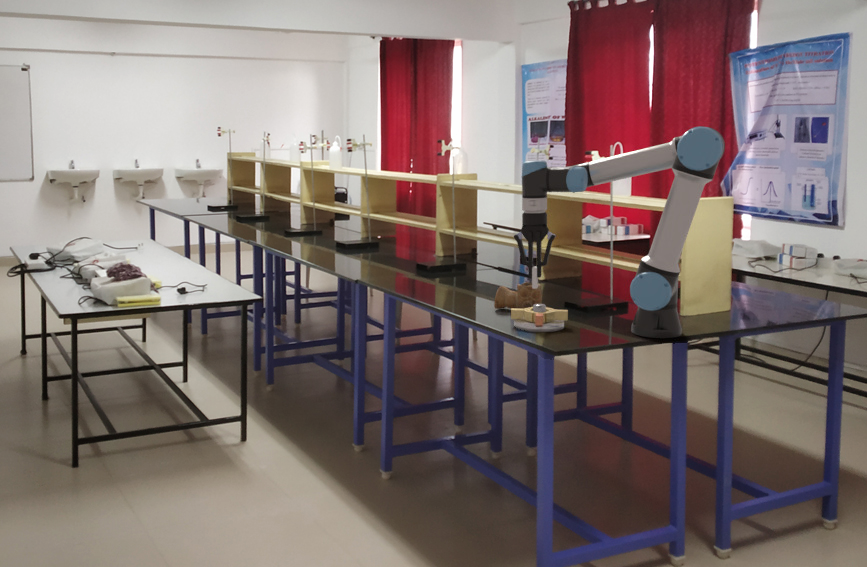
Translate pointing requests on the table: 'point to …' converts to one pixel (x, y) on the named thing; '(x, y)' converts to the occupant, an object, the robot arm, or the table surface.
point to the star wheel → (539, 315)
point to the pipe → (518, 297)
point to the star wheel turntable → (545, 327)
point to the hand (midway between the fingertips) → (535, 287)
